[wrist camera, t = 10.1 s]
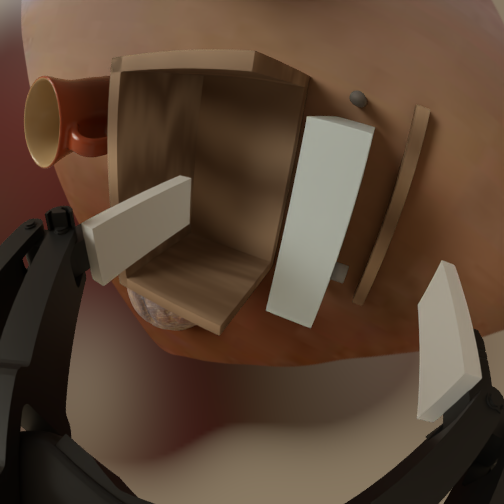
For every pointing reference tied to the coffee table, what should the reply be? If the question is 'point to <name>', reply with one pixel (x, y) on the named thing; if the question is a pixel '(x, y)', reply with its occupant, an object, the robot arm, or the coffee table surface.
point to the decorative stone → (157, 313)
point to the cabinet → (220, 171)
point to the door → (319, 215)
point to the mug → (66, 118)
